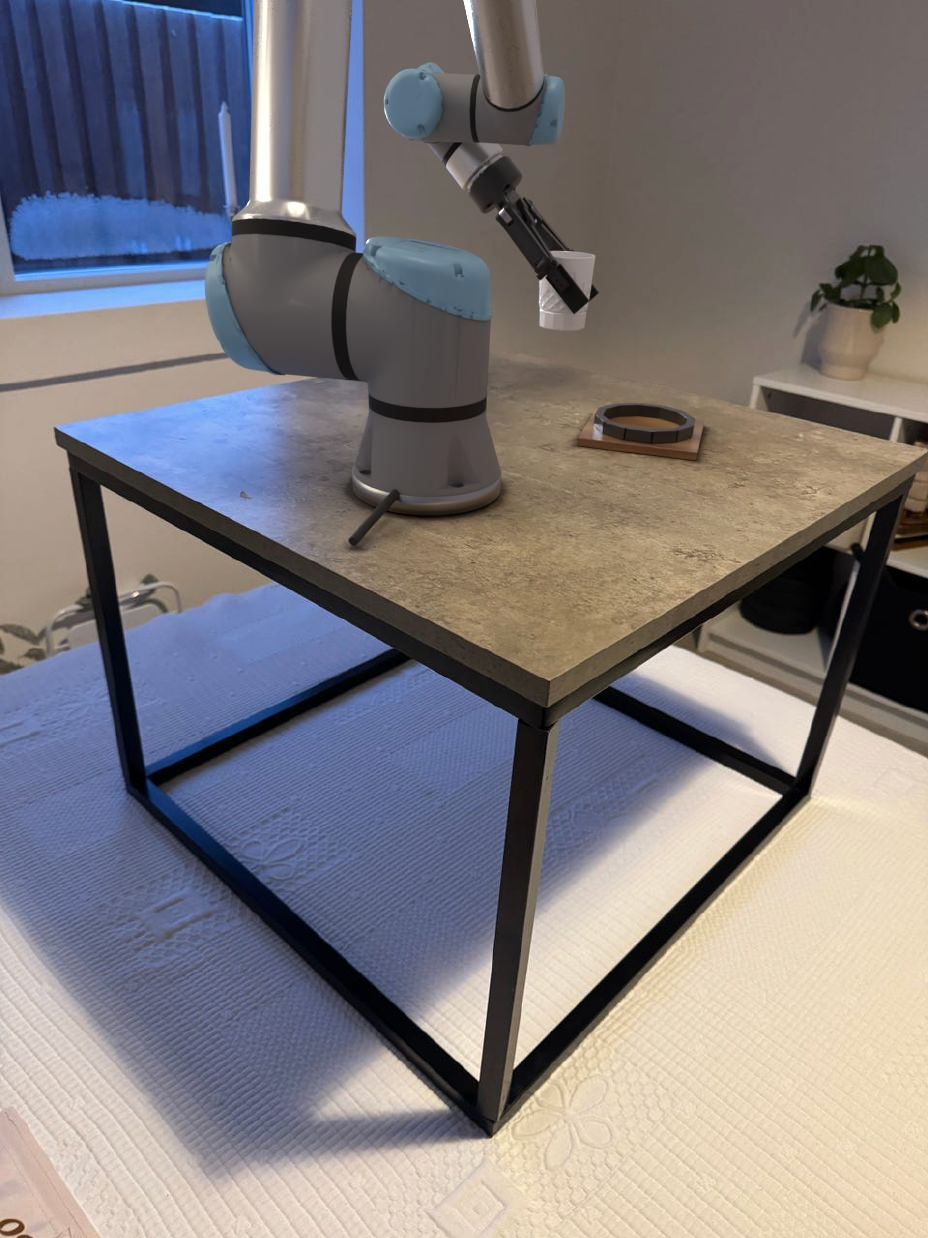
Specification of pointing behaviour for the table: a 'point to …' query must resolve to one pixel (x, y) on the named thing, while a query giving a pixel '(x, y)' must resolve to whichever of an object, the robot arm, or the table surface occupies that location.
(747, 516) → the table surface
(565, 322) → the white cup
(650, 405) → the wooden coaster with ring
